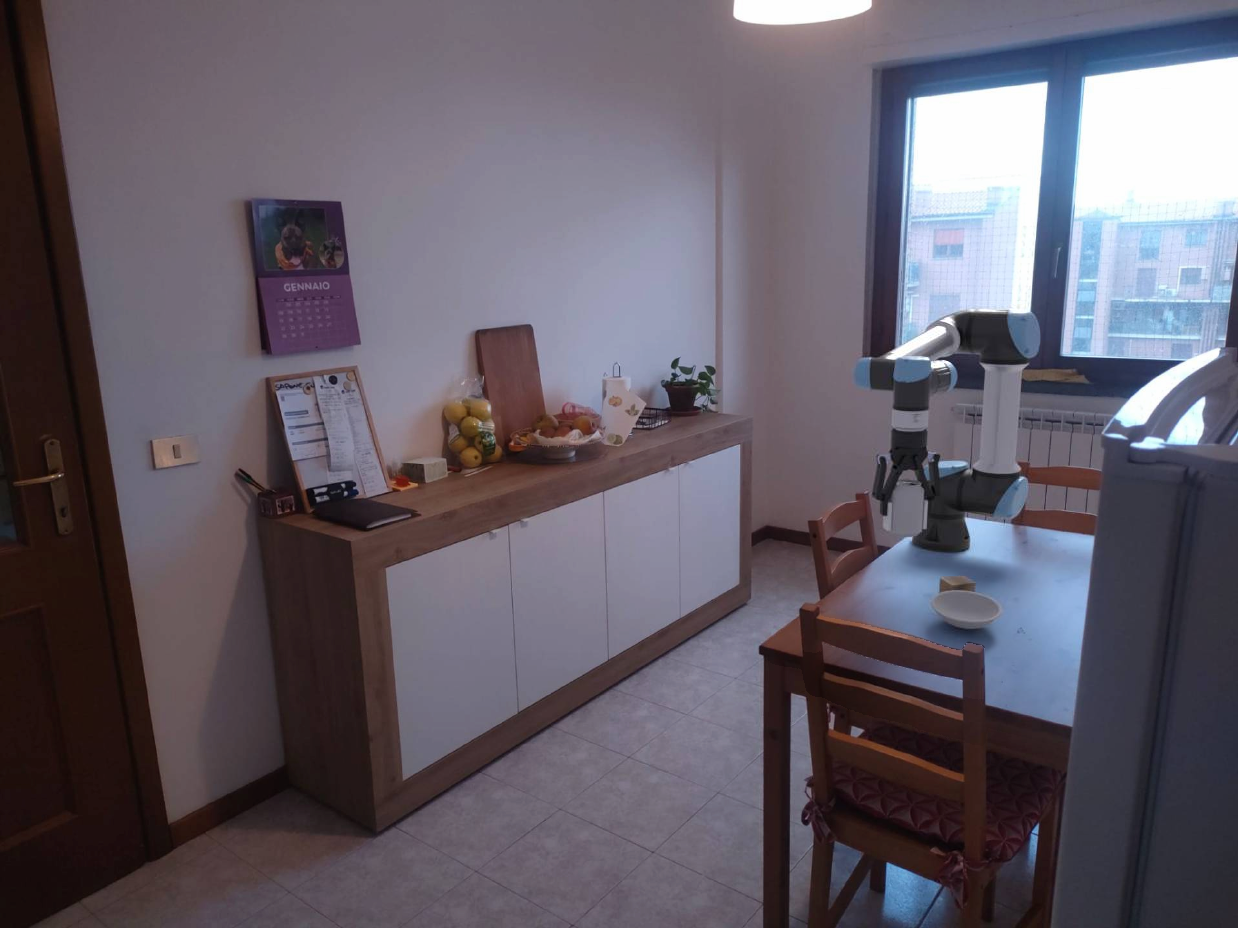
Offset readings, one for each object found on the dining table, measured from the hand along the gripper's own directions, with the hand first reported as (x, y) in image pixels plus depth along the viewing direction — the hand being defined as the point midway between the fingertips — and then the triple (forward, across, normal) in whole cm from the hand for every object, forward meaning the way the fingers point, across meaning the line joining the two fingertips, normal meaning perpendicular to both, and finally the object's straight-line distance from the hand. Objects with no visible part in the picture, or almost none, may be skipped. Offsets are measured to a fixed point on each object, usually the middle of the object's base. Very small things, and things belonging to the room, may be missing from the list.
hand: (904, 528), depth 192 cm
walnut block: (+19, +16, +5) cm, 26 cm away
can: (+1, 0, 0) cm, 1 cm away
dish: (+20, +10, -12) cm, 25 cm away
